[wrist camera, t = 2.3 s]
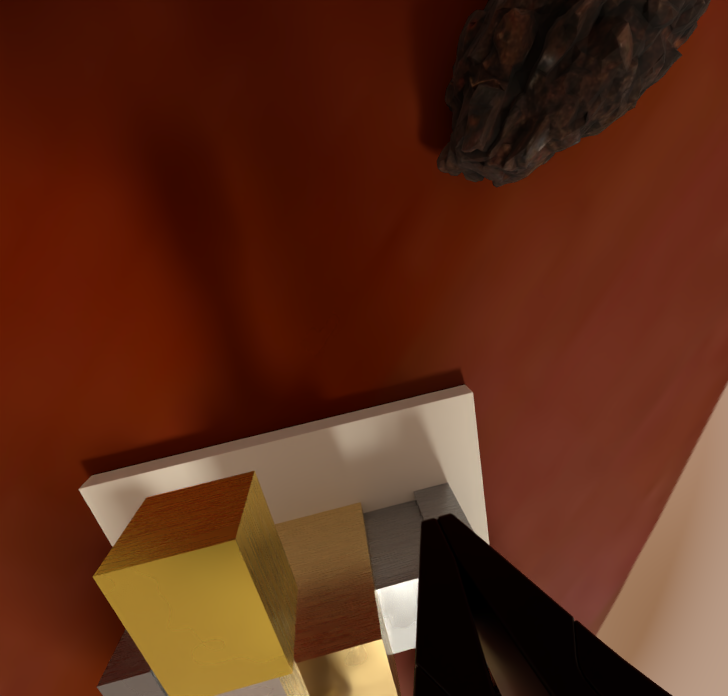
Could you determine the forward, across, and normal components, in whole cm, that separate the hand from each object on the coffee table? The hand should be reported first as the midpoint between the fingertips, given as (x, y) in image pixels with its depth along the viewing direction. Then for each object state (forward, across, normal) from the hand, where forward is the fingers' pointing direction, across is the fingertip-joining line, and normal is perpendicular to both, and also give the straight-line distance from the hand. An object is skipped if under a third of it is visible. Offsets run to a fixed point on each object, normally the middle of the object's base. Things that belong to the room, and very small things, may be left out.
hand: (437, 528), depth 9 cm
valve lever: (+1, +5, +4) cm, 7 cm away
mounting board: (+10, +5, +9) cm, 14 cm away
